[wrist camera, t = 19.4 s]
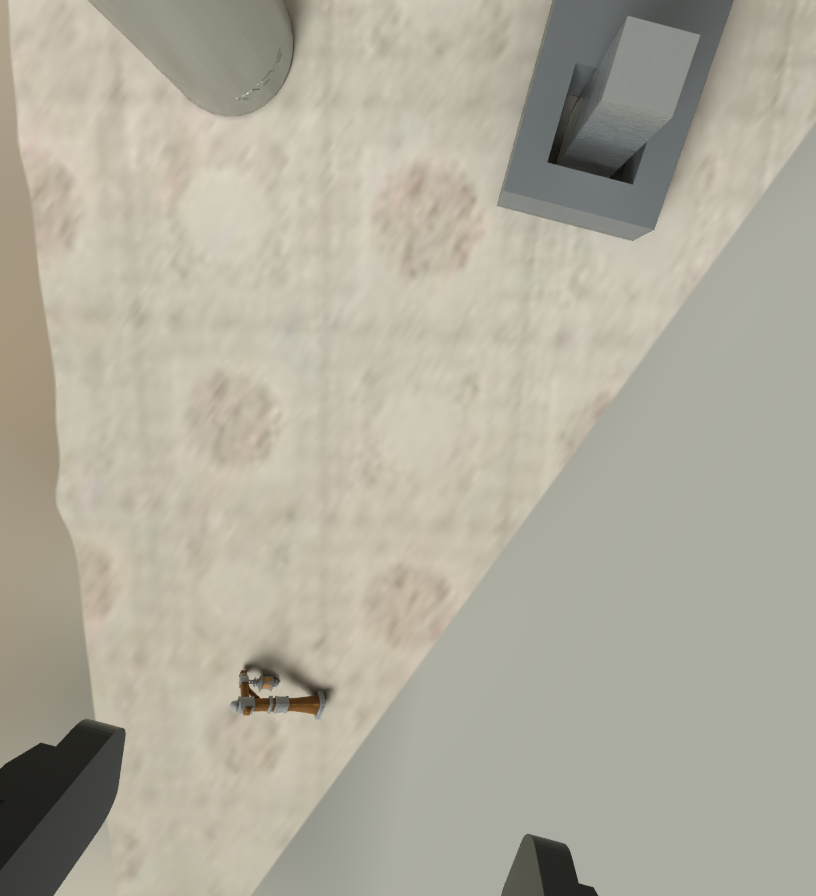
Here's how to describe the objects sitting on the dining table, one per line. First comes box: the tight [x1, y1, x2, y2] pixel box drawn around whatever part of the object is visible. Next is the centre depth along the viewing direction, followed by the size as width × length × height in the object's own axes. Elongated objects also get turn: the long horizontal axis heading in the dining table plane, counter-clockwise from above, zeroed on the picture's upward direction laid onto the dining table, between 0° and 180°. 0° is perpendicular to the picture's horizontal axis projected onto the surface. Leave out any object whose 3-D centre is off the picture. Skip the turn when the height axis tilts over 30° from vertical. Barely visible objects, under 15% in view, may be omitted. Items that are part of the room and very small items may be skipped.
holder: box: [497, 0, 733, 241], centre depth 30 cm, size 20×10×4 cm, turn 166°
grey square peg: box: [556, 16, 700, 178], centre depth 28 cm, size 4×4×10 cm
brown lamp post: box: [230, 670, 326, 721], centre depth 43 cm, size 2×8×4 cm, turn 69°
